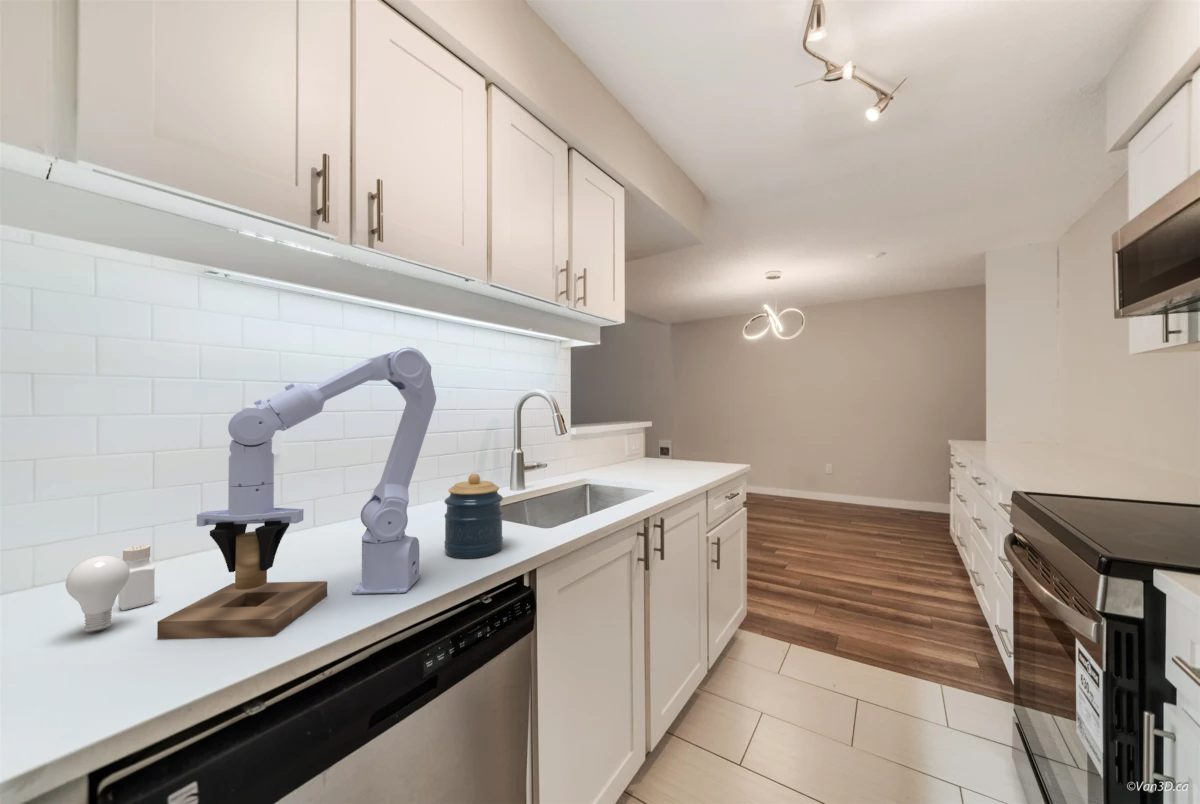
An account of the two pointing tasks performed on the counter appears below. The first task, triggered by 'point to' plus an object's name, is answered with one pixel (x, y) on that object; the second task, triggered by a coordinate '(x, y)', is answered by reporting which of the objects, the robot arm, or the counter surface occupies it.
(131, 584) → the salt shaker
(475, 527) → the canister
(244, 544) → the peg
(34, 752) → the counter surface
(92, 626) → the lightbulb
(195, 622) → the socket board
